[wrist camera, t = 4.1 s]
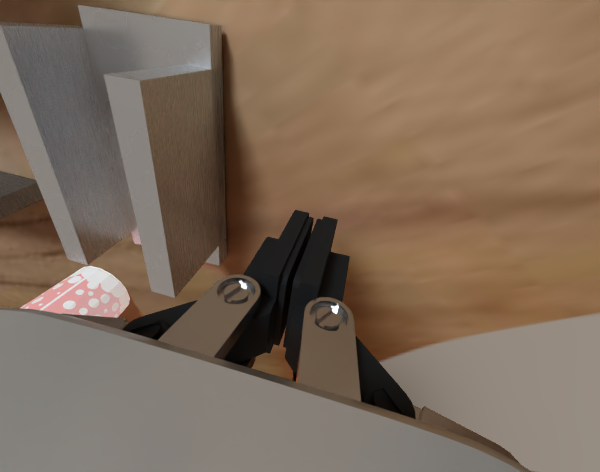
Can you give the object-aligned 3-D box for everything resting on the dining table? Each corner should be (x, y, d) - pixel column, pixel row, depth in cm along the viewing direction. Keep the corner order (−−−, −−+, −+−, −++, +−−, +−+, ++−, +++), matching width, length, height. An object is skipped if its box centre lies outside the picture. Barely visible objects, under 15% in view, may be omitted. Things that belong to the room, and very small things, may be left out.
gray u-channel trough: (221, 25, 12) (129, 17, 8) (226, 256, 19) (178, 319, 15) (73, 3, 13) (-82, -15, 9) (128, 230, 20) (56, 282, 16)
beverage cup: (77, 299, 27) (-156, 493, 15) (63, 247, 23) (-256, 448, 12) (140, 324, 26) (-52, 542, 15) (135, 275, 23) (-122, 510, 11)
